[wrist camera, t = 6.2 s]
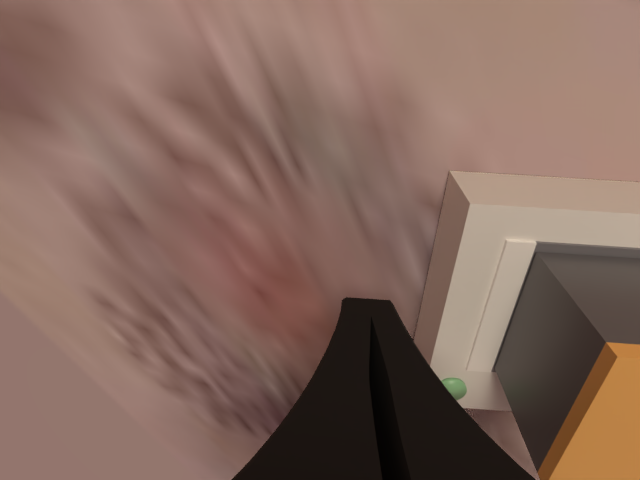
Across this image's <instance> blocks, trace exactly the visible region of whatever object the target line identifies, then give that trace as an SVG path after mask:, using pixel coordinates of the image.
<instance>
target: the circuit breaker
mask: <svg viewBox="0 0 640 480" xmlns="http://www.w3.org/2000/svg"><path fill="white" fill-rule="evenodd" d="M536 252H546V253H562V254H577V255H592V256H608V257H623V258H639V259H640V182H628V181H611V180H595V179H578V178H561V177H545V176H528V175H512V174H495V173H478V172H462V171H449V176H448V180H447V185H446V190H445V194H444V199H443V204H442V209H441V213H440V218H439V223H438V228H437V232H436V237H435V242H434V247H433V251H432V256H431V261H430V265H429V270H428V275H427V280H426V284H425V289H424V294H423V299H422V303H421V308H420V313H419V318H418V322H417V327H416V332H415V336H414V343H415V344H416V346H417V347H418V349H419V351H420V352H421V354H422V355H423V357H424V358H425V360H426V361H427V363H428V364H429V365H430V367H431V368H432V370H433V371H434V372H435V374H436V375H437V377H438V378H439V379H440V381H441V382H442V383H443V385H444V386H445V387H446V388H447V390H448V391H449V392H450V393H451V395H452V396H453V397H454V398H455V400H456V401H457V402H458V403H459V404H460V405H461V407H462V408H470V409H483V410H497V411H510V412H512V410H511V407H510V405H509V402H508V400H507V397H506V395H505V393H504V390H503V388H502V385H501V383H500V380H499V378H498V376H497V373H496V371H495V365H496V362H497V359H498V356H499V354H500V351H501V348H502V345H503V342H504V340H505V337H506V334H507V331H508V329H509V326H510V323H511V320H512V317H513V315H514V312H515V309H516V306H517V303H518V301H519V298H520V295H521V292H522V290H523V287H524V284H525V281H526V278H527V276H528V273H529V270H530V267H531V265H532V262H533V259H534V256H535V253H536Z"/></svg>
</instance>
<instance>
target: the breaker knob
mask: <svg viewBox="0 0 640 480" xmlns="http://www.w3.org/2000/svg"><path fill="white" fill-rule="evenodd" d="M495 371H496V373H497V376H498V378H499V380H500V383H501V385H502V388H503V390H504V393H505V395H506V397H507V400H508V402H509V405H510V407H511V410H512V412H513V414H514V417H515V419H516V422H517V424H518V427H519V429H520V432H521V434H522V436H523V439H524V441H525V444H526V446H527V449H528V451H529V453H530V456H531V458H532V461H533V463H534V466H535V468H536V470H537V473H538V475H539V478H540V480H640V259H639V258H623V257H608V256H592V255H577V254H562V253H546V252H536V253H535V256H534V259H533V262H532V265H531V267H530V270H529V273H528V276H527V278H526V281H525V284H524V287H523V290H522V292H521V295H520V298H519V301H518V303H517V306H516V309H515V312H514V315H513V317H512V320H511V323H510V326H509V329H508V331H507V334H506V337H505V340H504V342H503V345H502V348H501V351H500V354H499V356H498V359H497V362H496V365H495Z"/></svg>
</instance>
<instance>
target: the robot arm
mask: <svg viewBox="0 0 640 480" xmlns="http://www.w3.org/2000/svg"><path fill="white" fill-rule="evenodd" d="M232 480H535V479H534V478H533V477H532V476H531V475H530V474H528V473H527V472H526V471H525V470H524V469H523V468H522V467H520V466H519V465H518V464H517V463H516V462H515V461H514V460H513V459H512V458H511V457H510V456H509V455H508V454H507V453H506V452H505V451H504V450H503V449H501V448H500V447H499V446H498V445H497V444H496V443H495V442H494V441H493V440H492V439H491V438H490V437H489V436H488V435H487V434H486V433H485V432H484V431H483V430H482V429H481V428H480V427H479V425H478V424H477V423H476V422H475V421H474V420H473V419H472V418H471V417H470V416H469V415H468V414H467V412H466V411H465V410H464V409H463V408H462V407H461V405H460V404H459V403H458V402H457V401H456V400H455V398H454V397H453V396H452V395H451V393H450V392H449V391H448V390H447V388H446V387H445V386H444V385H443V383H442V382H441V381H440V379H439V378H438V377H437V375H436V374H435V372H434V371H433V370H432V368H431V367H430V365H429V364H428V363H427V361H426V360H425V358H424V357H423V355H422V354H421V352H420V351H419V349H418V347H417V346H416V344H415V343H414V341H413V340H412V338H411V336H410V335H409V333H408V331H407V330H406V328H405V326H404V324H403V323H402V321H401V319H400V317H399V315H398V313H397V311H396V309H395V307H394V305H393V303H392V302H391V301H390V300H377V299H362V298H347V297H346V298H345V299H343V300H342V306H341V313H340V316H339V320H338V323H337V326H336V329H335V331H334V334H333V336H332V338H331V341H330V343H329V346H328V348H327V350H326V352H325V354H324V356H323V358H322V360H321V362H320V364H319V366H318V367H317V369H316V371H315V373H314V375H313V377H312V378H311V380H310V382H309V383H308V385H307V387H306V388H305V390H304V391H303V393H302V394H301V396H300V398H299V399H298V401H297V402H296V403H295V405H294V406H293V408H292V409H291V410H290V412H289V413H288V415H287V416H286V417H285V419H284V420H283V421H282V423H281V424H280V425H279V427H278V428H277V429H276V431H275V432H274V433H273V434H272V435H271V437H270V438H269V439H268V440H267V441H266V442H265V444H264V445H263V446H262V447H261V448H260V450H259V451H258V452H257V453H256V454H255V456H254V457H253V458H252V459H251V460H250V461H249V462H248V463H247V464H246V466H245V467H244V468H243V469H242V470H241V471H240V472H239V473H238V474H237V475H236V476H235V477H234V478H233V479H232Z"/></svg>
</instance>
